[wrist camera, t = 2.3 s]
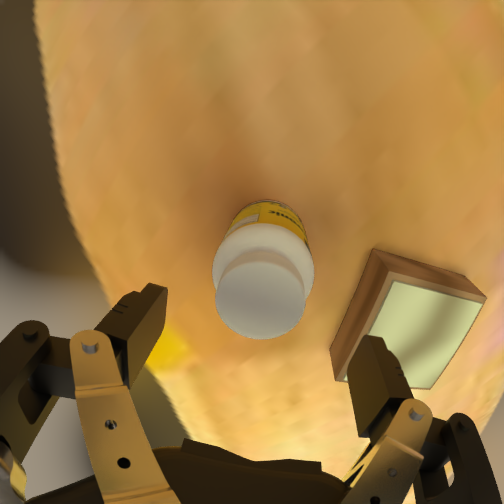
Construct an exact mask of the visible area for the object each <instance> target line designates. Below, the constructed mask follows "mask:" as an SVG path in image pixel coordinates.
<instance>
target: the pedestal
mask: <svg viewBox="0 0 504 504" xmlns="http://www.w3.org/2000/svg"><path fill="white" fill-rule="evenodd" d="M486 299H487V297H486V296H485V295H484V294H483V293H482V292H481V291H480V290H479V289H478V288H477V287H476V286H475V285H474V284H473V283H472V282H471V281H469V280H468V279H467V278H466V277H465V276H463V275H460V274H457V273H453V272H450V271H447V270H444V269H440V268H437V267H434V266H431V265H427V264H424V263H421V262H417V261H414V260H410V259H407V258H404V257H400V256H397V255H393V254H390V253H386V252H383V251H379V250H376V249H372V252H371V254H370V257H369V260H368V262H367V265H366V267H365V270H364V273H363V275H362V278H361V280H360V282H359V285H358V287H357V290H356V292H355V295H354V297H353V299H352V302H351V304H350V306H349V309H348V311H347V313H346V315H345V318H344V320H343V322H342V324H341V326H340V329H339V331H338V333H337V335H336V337H335V339H334V341H333V344H332V346H331V348H330V356H331V361H332V367H333V372H334V378H335V381H339V382H346V383H348V380H347V368H348V364H349V362H350V360H351V358H352V356H353V354H354V352H355V350H356V348H357V347H358V345H359V343H360V341H361V339H362V337H363V336H364V335H366V334H367V335H372V336H378V337H382V338H383V339H384V341H385V344H386V346H387V349H388V350H390V351H391V352H392V353H393V354H394V355H395V356H396V357H397V358H398V360H399V363H400V365H401V367H402V368H401V369H402V370H403V372H404V376H405V377H406V379H407V382H408V384H409V387H410V389H424V390H430V389H431V388H432V387H433V385H434V384H435V383H436V381H437V380H438V378H439V377H440V376H441V374H442V373H443V371H444V370H445V368H446V367H447V366H448V364H449V363H450V361H451V360H452V358H453V356H454V355H455V353H456V352H457V350H458V349H459V347H460V345H461V344H462V342H463V341H464V339H465V337H466V336H467V334H468V332H469V331H470V329H471V327H472V325H473V324H474V322H475V320H476V318H477V316H478V314H479V313H480V311H481V309H482V307H483V305H484V303H485V301H486Z"/></svg>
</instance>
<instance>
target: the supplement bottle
mask: <svg viewBox="0 0 504 504" xmlns="http://www.w3.org/2000/svg"><path fill="white" fill-rule="evenodd" d="M212 277H213V283H214V286H215V289H216V295H215V302H216V308H217V311H218V313H219V315H220V317H221V319H222V320H223V322H224V323H225V324H226V325H227V326H228V327H229V328H230V329H232V330H233V331H234V332H236V333H238V334H240V335H242V336H245V337H248V338H252V339H271V338H275V337H279V336H281V335H283V334H285V333H287V332H288V331H290V330H291V329H292V328H294V327H295V326H296V324H297V323H298V322H299V320H300V319H301V317H302V315H303V312H304V309H305V300H306V298H307V297H308V295H309V293H310V291H311V289H312V286H313V282H314V265H313V259H312V255H311V252H310V248H309V245H308V241H307V237H306V233H305V229H304V227H303V224H302V222H301V220H300V218H299V217H298V215H297V214H296V213H295V212H294V211H293V210H292V209H291V208H290V207H288V206H287V205H285V204H283V203H280V202H277V201H272V200H263V201H258V202H254V203H252V204H250V205H248V206H246V207H245V208H243V209H242V210H241V211H240V212H239V213H238V214H237V216H236V217H235V218H234V220H233V222H232V224H231V226H230V227H229V229H228V231H227V233H226V235H225V237H224V239H223V241H222V243H221V244H220V246H219V248H218V250H217V252H216V255H215V258H214V261H213V267H212Z"/></svg>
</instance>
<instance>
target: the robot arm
mask: <svg viewBox="0 0 504 504" xmlns="http://www.w3.org/2000/svg"><path fill="white" fill-rule="evenodd" d="M167 295H168V289H167V288H166V287H163V286H159V285H156V284H152V283H148V284H147V285H146V286H145V288H144V289H143V290H142V291H141V292H140V293H139V292H136V291H133V292H131V293H129V294H126V295H124V296H123V297H122V298H121V299H120V300H119V301H118V303H117V304H116V305H115V306H114V307H113V308H112V310H110V312H109V313H108V314H107V315H106V316H105V317H104V318H103V319H102V321H101V322H100V323H99V324H98V325H97V326H96V327H95V329H94V330H84V331H80V332H78V333H76V334H75V335H74V336H73V337H72V338H71V339H66V338H59V337H54V336H50V334H49V330H48V328H47V326H46V325H45V324H44V323H42V322H40V321H35V320H30V321H25V322H22V323H20V324H19V325H17V326H16V327H15V328H14V329H13V330H12V331H11V332H10V333H9V334H8V335H7V336H6V337H5V338H4V339H3V340H2V342H1V343H0V504H402V503H403V501H404V499H405V497H406V495H407V493H408V491H409V489H410V487H411V485H412V483H413V487H414V493H415V499H416V504H502V501H501V497H500V493H499V490H498V487H497V484H496V481H495V478H494V474H493V471H492V468H491V465H490V463H489V460H488V457H487V454H486V451H485V449H484V446H483V444H482V441H481V438H480V436H479V433H478V431H477V428H476V426H475V424H474V422H473V421H472V420H471V418H469V417H468V416H467V415H465V414H463V413H454V414H453V415H452V416H451V417H450V418H449V419H448V420H447V421H445V420H441V419H438V418H434V417H433V415H432V412H431V410H430V408H429V407H428V406H427V405H426V404H425V403H423V402H422V401H420V400H417V399H414V397H413V394H412V392H411V389H410V387H409V384H408V382H407V379H406V377H405V376H404V372H403V370H402V369H401V368H402V367H401V365H400V363H399V360H398V358H397V357H396V356H395V355H394V354H393V353H392V352H391V351H390V350H388V349H387V346H386V344H385V341H384V339H383V338H382V337H378V336H372V335H367V334H366V335H364V336H363V337H362V339H361V341H360V343H359V345H358V347H357V348H356V350H355V352H354V354H353V356H352V358H351V360H350V362H349V364H348V368H347V380H348V384H349V389H350V394H351V399H352V404H353V409H354V414H355V420H356V425H357V431H358V436H359V437H362V438H370V441H371V442H370V443H369V444H368V445H367V446H366V447H365V449H364V450H363V452H362V453H361V455H360V456H359V457H358V459H357V460H356V462H355V463H354V464H353V466H352V467H351V468H350V470H349V471H348V472H347V474H346V475H345V476H344V477H343V478H342V480H340V479H339V478H337V477H335V476H333V475H331V474H328V473H326V472H323V471H322V468H321V462H316V461H304V460H294V459H283V460H271V461H251V460H249V459H246V458H244V457H241V456H239V455H236V454H234V453H232V452H229V451H227V450H225V449H222V448H220V447H217V446H213V445H209V444H205V443H201V442H197V441H193V440H189V439H186V438H184V441H183V444H182V447H177V446H168V447H158V448H154V449H151V447H150V445H149V442H148V440H147V438H146V435H145V433H144V431H143V428H142V426H141V423H140V421H139V418H138V415H137V413H136V410H135V408H134V405H133V402H132V399H131V396H130V393H129V391H128V389H131V387H132V385H133V383H134V381H135V379H136V377H137V376H138V374H139V372H140V370H141V369H142V367H143V365H144V363H145V362H146V360H147V358H148V356H149V355H150V353H151V351H152V349H153V347H154V346H155V344H156V342H157V340H158V339H159V337H160V335H161V333H162V331H163V328H164V324H165V317H166V305H167ZM59 397H65V398H71V399H76V402H77V407H78V412H79V417H80V421H81V426H82V430H83V434H84V438H85V442H86V446H87V450H88V453H89V457H90V460H91V464H92V467H93V470H94V473H95V474H94V475H92V476H90V477H87V478H85V479H82V480H80V481H77V482H75V483H72V484H70V485H67V486H64V487H61V488H59V489H56V490H53V491H50V492H48V493H45V494H42V495H39V496H36V497H33V498H31V499H29V500H27V501H26V498H25V493H24V492H25V486H26V482H27V476H26V472H25V470H24V468H23V466H22V465H21V463H22V462H23V460H24V458H25V456H26V454H27V452H28V450H29V449H30V447H31V445H32V443H33V441H34V440H35V438H36V436H37V434H38V433H39V431H40V429H41V427H42V426H43V424H44V422H45V421H46V419H47V417H48V416H49V414H50V412H51V411H52V409H53V407H54V406H55V404H56V402H57V401H58V399H59ZM449 461H451V464H452V468H453V472H454V481H453V483H452V485H451V486H450V487H449V485H448V481H447V477H446V473H445V469H444V465H445V464H446V463H448V462H449Z"/></svg>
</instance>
